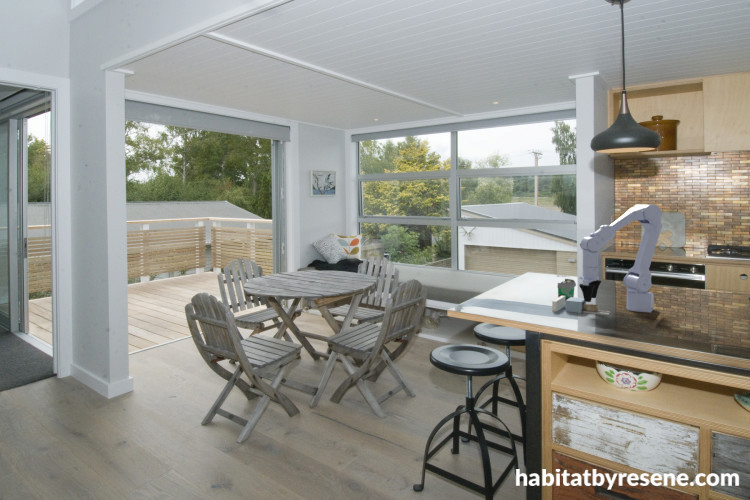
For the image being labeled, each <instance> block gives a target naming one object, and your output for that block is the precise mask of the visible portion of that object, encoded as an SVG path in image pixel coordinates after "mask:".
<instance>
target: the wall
mask: <svg viewBox="0 0 750 500" xmlns="http://www.w3.org/2000/svg"><path fill="white" fill-rule="evenodd" d="M551 303H552V304H551V306H552V307H551V310H552V312H555V313H557V312H558V311H559V310H561V309H562V308H564V307H566V302H565V296H560V297H558V296H557V298H555V299H554V300H552V302H551Z"/></svg>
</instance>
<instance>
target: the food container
mask: <svg viewBox="0 0 750 500" xmlns="http://www.w3.org/2000/svg"><path fill="white" fill-rule="evenodd" d="M575 287H577V283H576V280H575V279H571V278H564V280H563V281H561V282H557V298H558V297H560V296H565V303H566V300H567V299H569V298H570V297H575Z"/></svg>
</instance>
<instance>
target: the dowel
mask: <svg viewBox="0 0 750 500" xmlns="http://www.w3.org/2000/svg"><path fill="white" fill-rule="evenodd" d="M598 310H599V305H598V304H593V303H586V304H584V303H582V311H589V312H597V311H598Z"/></svg>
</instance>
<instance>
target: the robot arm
mask: <svg viewBox="0 0 750 500" xmlns="http://www.w3.org/2000/svg"><path fill="white" fill-rule="evenodd" d="M662 214H663V211H662V210H661V209H660V207H659V206H658V204H657V205H656V204H654V203H651V204H642V203H637V204H634V205H633V206H632V207H630V208H629V209H628V210H627V211H626V212H625V213H623V214H622V215H621V216H619V217H618V218H617V219H616V220H615V221H613V222H612V223H611V224H604V225H603V224H602V225H601V226H599V229H596V231H594V232H591V233H590V234H589V235H590V236H584V237H583V238H582V240H581V242H580V243H579V247H580V248H581V250H582V276H579V279H580V280H582V283H579V285H578V286H579V288H580V289H581V292H582V295H583V298H584V300H585V302H586V303H591V302H592V300H593V299H596V298H597V296H598V290H599V287H600V285H601V283H602V280H601V279H600V277H599V251H600V250H601V249H602V247H603V245H604V244H606V243H607V242H608V241H609V242H610V240H611V239H613V238H614V237H615V236H616V233H617V232H618V231H619V230H621V229H622V228H624V227H626V226H627V225H628V224H630V223H632V222H634V221H635V222H637V221H638V223H640V224H641V225H642V227H643V229H644V231H643V235H642V238H641V240H640V243H639V247H638V250H637V254H636V256H635V261H634V264H633V266H632V267H631V268H629V269H628V272H627V273H626V275H625V276H624V277H623V281H622V282H623V285H624V286H625V287H626V310H627V311H631V312H642V313H650V314H651V313H652V312H653V311H654V301H655V299H654V297H655V295H654V292H651V291H650V290H651V287H652V277H653V275H652V273H651V272H650V266H651V263H652V260H653V258H654V254H655V250H656V247H657V243H658V241H659V237H660V233H661V230H662V226H663V225H662V219H661V218H662ZM599 279H600V280H599Z"/></svg>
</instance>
